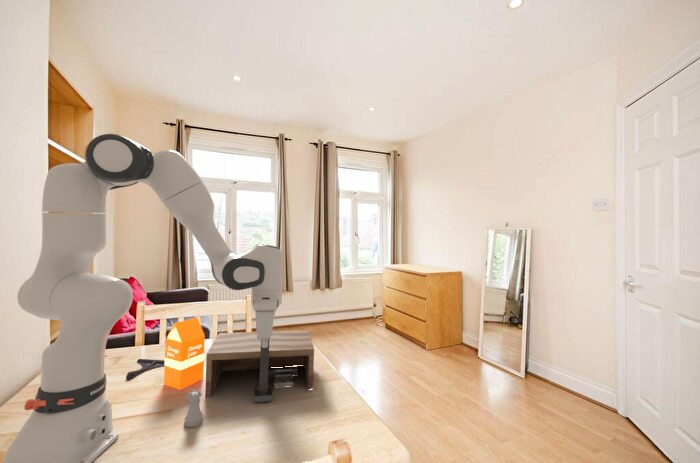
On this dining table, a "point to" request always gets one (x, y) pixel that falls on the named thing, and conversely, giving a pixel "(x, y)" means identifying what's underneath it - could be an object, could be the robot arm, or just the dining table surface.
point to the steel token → (283, 380)
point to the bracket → (145, 367)
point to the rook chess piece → (193, 410)
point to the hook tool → (269, 376)
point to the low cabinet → (258, 354)
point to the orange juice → (184, 354)
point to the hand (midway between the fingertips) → (265, 344)
